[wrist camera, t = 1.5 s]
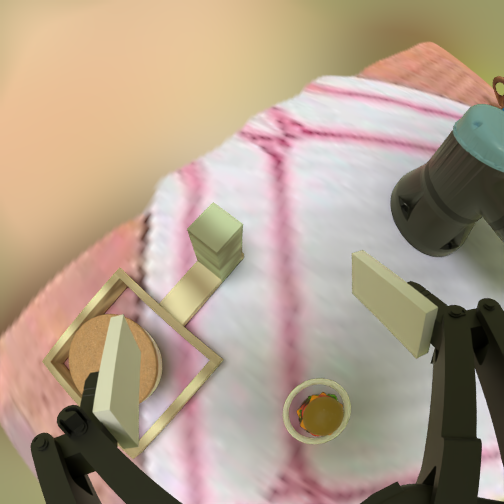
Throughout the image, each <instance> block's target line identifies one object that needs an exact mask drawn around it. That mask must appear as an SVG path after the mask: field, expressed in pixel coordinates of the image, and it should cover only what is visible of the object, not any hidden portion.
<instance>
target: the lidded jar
mask: <svg viewBox="0 0 504 504" xmlns="http://www.w3.org/2000/svg"><path fill="white" fill-rule="evenodd" d="M115 316H119V315H116V314H103V315H99V316H96V317H94V318H91V319H90V320H88V321H87V322H85V323H84V324H83V325H82V326H81V327H80V328H79V330H78V331H77V332H76V334H75V336H74V338H73V340H72V343H71V346H70V350H69V368H70V373H71V376H72V379H73V381H74V383H75V385H76V387H77V389H78V390H79V392H80V393H81V394H82V393H83V390H84V389H83V388H84V384H85V380H86V379H87V377H88V376H89V374H90V373H92V372H98V371H99V370H100V365H101V360H102V355H103V350H104V345H105V341H106V336H107V332H108V327H109V323H110V319H111V317H115ZM125 319H126V321H127V323H128V326H129V328H130V330H131V332H132V334H133V337H134V339H135V341H136V343H137V345H138V347H139V349H140V351H141V363H140V386H139V404H140V403H142V402H143V401H145V400H146V399H147V398H149V397H150V396H151V395H152V393H153V392H154V391H155V390H156V388H157V386H158V384H159V382H160V379H161V375H162V358H161V354H160V351H159V348H158V346H157V344H156V342H155V341H154V339H153V338H152V337H151V336H150V334H149V333H148V332H147V331H146V330H144V329H143V328H142V327H141V326H139V325H138V324H137V323H135V322H134V321H132V320H130V319H128V318H126V317H125Z"/></svg>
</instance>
